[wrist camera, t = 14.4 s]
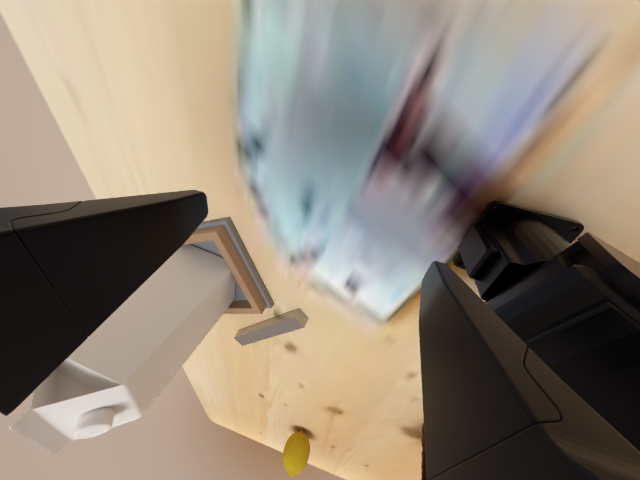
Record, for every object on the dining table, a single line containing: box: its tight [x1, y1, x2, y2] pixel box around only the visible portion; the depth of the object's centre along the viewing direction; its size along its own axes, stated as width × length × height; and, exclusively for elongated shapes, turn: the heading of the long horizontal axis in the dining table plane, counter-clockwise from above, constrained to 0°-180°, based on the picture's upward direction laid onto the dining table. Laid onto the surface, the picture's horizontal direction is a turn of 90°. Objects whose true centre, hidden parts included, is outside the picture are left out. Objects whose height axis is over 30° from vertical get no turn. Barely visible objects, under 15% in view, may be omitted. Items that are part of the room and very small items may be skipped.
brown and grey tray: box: [180, 217, 274, 314], centre depth 32 cm, size 14×14×2 cm
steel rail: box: [234, 309, 308, 346], centre depth 35 cm, size 14×2×2 cm, turn 128°
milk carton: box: [9, 244, 236, 457], centre depth 24 cm, size 7×7×19 cm
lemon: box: [283, 430, 310, 477], centre depth 51 cm, size 6×6×8 cm
